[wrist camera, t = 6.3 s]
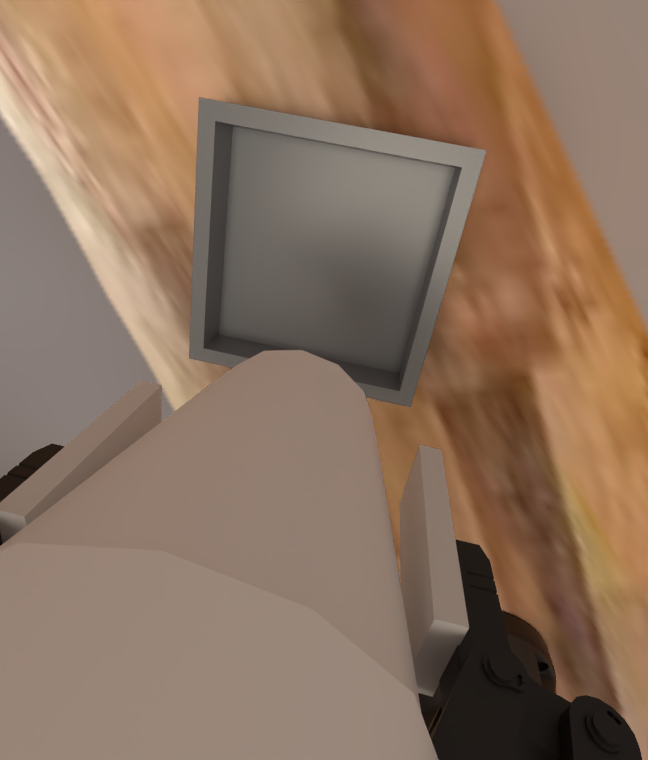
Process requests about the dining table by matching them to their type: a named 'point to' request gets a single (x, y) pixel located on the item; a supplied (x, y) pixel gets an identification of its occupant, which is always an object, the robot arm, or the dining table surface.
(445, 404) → the dining table surface
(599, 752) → the robot arm
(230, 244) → the tray
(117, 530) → the foam cup
